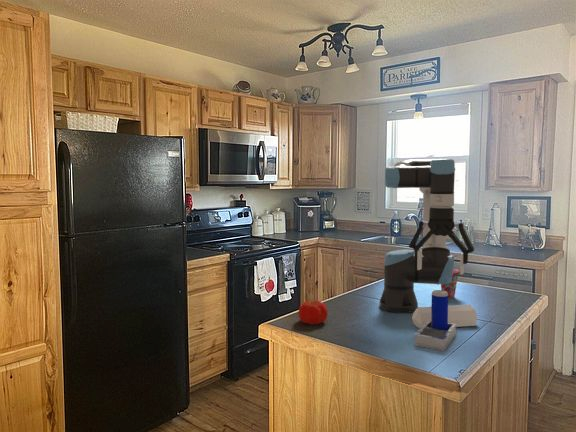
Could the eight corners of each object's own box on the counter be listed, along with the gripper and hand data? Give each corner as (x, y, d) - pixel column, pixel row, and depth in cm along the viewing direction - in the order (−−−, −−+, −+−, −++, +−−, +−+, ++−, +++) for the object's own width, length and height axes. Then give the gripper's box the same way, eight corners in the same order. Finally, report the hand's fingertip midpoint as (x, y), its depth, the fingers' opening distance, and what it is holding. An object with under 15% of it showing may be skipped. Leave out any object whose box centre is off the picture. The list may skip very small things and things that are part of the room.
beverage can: (434, 332, 152) (435, 288, 150) (449, 335, 148) (450, 291, 147) (428, 336, 148) (429, 292, 146) (444, 339, 144) (444, 294, 143)
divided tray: (414, 345, 140) (414, 334, 139) (428, 329, 154) (429, 319, 154) (444, 351, 135) (444, 339, 135) (456, 334, 149) (456, 324, 149)
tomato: (319, 316, 170) (319, 297, 169) (332, 325, 160) (332, 304, 159) (293, 319, 166) (293, 300, 166) (305, 329, 156) (305, 308, 155)
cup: (456, 300, 190) (457, 272, 189) (436, 297, 195) (436, 270, 194) (460, 295, 198) (461, 269, 197) (441, 293, 203) (441, 267, 202)
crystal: (419, 321, 151) (484, 318, 155) (411, 306, 157) (475, 303, 160) (414, 336, 156) (478, 332, 159) (407, 320, 162) (469, 317, 165)
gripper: (400, 206, 148) (399, 269, 150) (481, 209, 135) (479, 278, 137) (407, 205, 154) (406, 265, 156) (485, 207, 141) (483, 273, 143)
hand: (440, 271), depth 146 cm, fingers open, 13 cm apart
